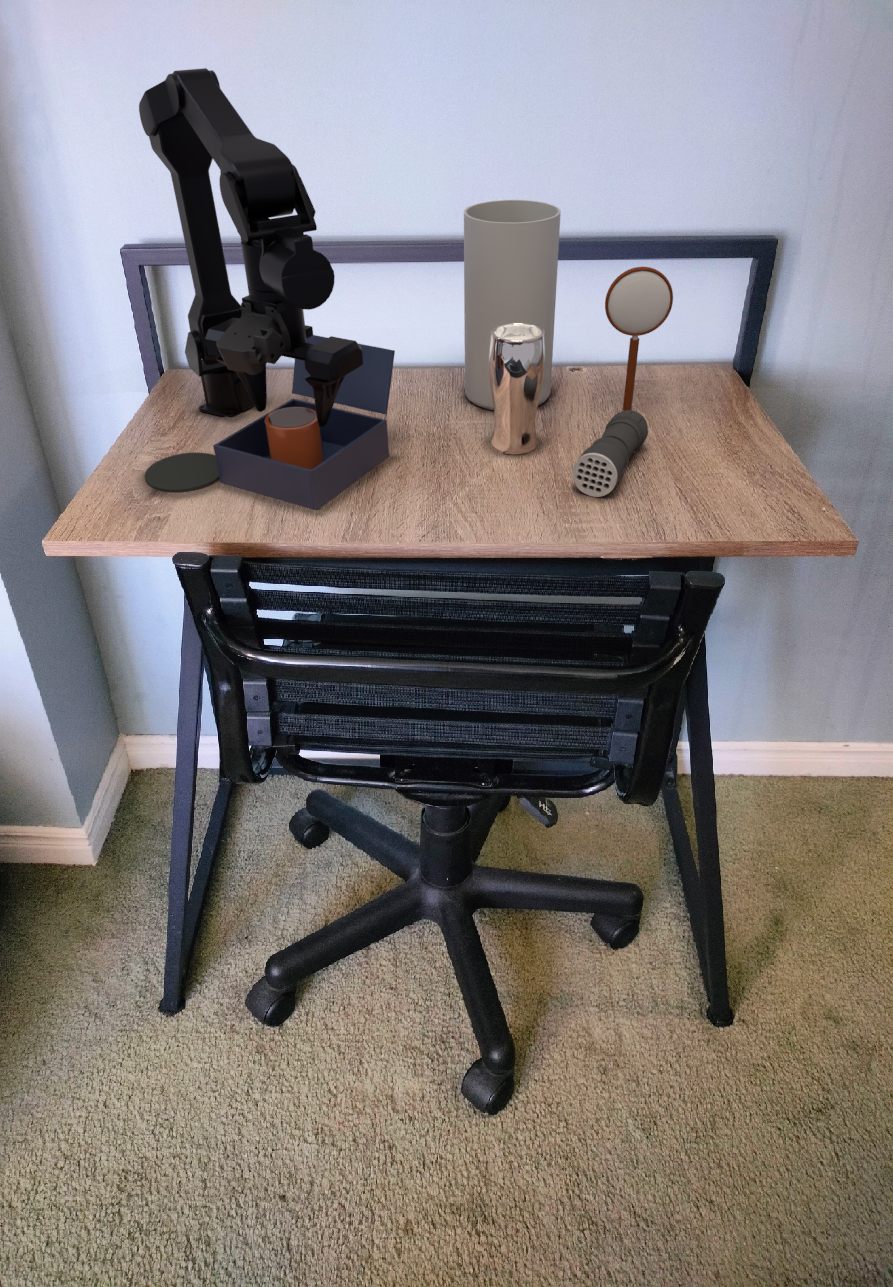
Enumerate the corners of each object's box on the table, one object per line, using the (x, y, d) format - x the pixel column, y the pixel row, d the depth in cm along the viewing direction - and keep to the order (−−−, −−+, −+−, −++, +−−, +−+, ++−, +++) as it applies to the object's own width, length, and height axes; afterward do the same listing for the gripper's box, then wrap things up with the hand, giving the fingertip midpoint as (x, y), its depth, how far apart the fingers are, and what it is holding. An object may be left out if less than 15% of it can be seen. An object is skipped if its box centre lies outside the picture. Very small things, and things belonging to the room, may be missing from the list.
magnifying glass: (595, 419, 124) (608, 269, 112) (594, 414, 125) (607, 265, 113) (658, 419, 124) (678, 268, 111) (656, 414, 125) (676, 264, 113)
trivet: (128, 484, 112) (127, 478, 111) (184, 451, 119) (182, 446, 118) (189, 502, 108) (187, 496, 107) (242, 468, 115) (241, 462, 114)
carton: (297, 435, 122) (292, 398, 118) (389, 458, 116) (386, 419, 113) (220, 485, 111) (213, 445, 108) (317, 513, 105) (312, 471, 102)
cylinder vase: (447, 398, 131) (443, 213, 115) (500, 372, 138) (504, 195, 122) (515, 421, 124) (521, 228, 109) (567, 393, 131) (579, 208, 116)
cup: (262, 479, 111) (253, 422, 107) (294, 457, 116) (286, 402, 111) (304, 490, 109) (297, 433, 104) (335, 468, 113) (329, 412, 108)
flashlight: (608, 440, 119) (612, 402, 115) (648, 448, 117) (653, 409, 114) (570, 491, 108) (573, 450, 105) (613, 500, 106) (618, 459, 103)
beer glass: (537, 458, 115) (542, 342, 106) (484, 454, 116) (484, 339, 107) (543, 435, 120) (549, 323, 111) (492, 431, 122) (493, 320, 112)
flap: (291, 393, 118) (293, 393, 118) (385, 414, 112) (387, 414, 112) (297, 332, 115) (298, 332, 115) (393, 350, 109) (395, 350, 110)
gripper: (158, 293, 96) (187, 428, 106) (297, 319, 89) (315, 462, 99) (226, 266, 104) (248, 394, 113) (360, 288, 96) (370, 423, 106)
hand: (291, 418), depth 108 cm, fingers open, 9 cm apart
